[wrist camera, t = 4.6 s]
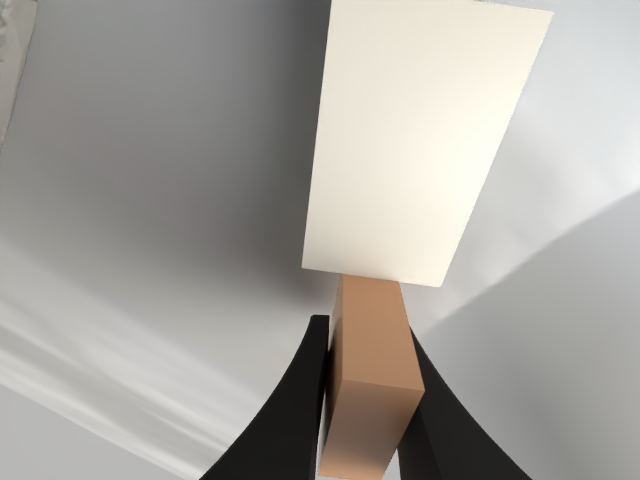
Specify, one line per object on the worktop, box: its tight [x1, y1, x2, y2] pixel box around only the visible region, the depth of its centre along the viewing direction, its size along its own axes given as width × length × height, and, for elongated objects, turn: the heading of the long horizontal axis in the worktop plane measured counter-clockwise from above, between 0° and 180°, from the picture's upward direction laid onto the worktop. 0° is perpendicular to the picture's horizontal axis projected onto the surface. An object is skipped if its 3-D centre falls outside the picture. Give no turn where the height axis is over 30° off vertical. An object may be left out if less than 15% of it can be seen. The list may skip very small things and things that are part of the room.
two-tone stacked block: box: [301, 0, 555, 480], centre depth 9 cm, size 5×13×5 cm, turn 173°
